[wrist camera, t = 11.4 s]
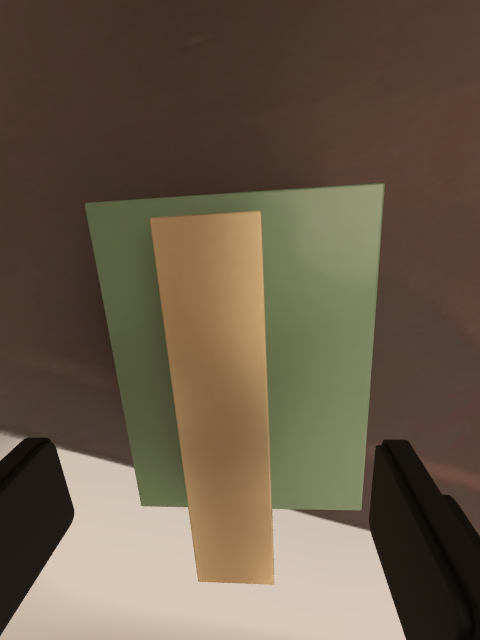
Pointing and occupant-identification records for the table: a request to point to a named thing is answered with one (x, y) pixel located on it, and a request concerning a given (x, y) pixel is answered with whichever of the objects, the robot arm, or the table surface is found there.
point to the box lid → (281, 335)
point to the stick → (220, 386)
